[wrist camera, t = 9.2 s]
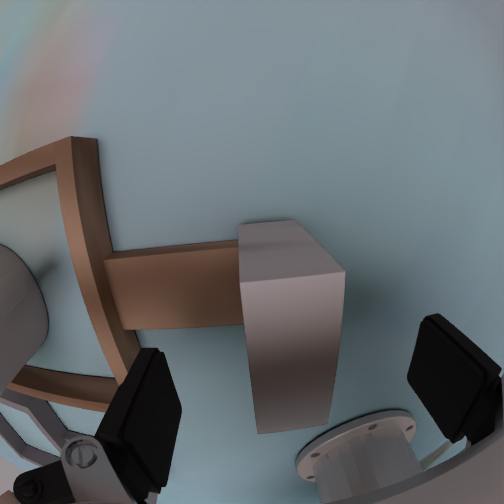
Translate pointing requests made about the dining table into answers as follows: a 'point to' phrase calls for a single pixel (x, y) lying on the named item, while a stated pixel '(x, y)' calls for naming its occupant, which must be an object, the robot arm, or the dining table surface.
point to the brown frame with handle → (195, 297)
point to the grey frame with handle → (47, 425)
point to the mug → (18, 316)
